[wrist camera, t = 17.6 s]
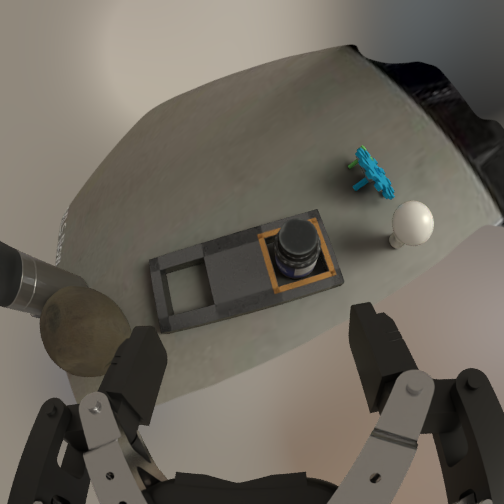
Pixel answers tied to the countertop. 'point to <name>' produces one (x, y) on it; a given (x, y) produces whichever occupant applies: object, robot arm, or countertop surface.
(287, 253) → the pill bottle
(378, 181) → the blue branched piece
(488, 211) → the countertop surface
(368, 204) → the countertop surface
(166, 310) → the grey rectangular tray
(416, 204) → the lightbulb
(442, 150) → the countertop surface
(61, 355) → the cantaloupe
